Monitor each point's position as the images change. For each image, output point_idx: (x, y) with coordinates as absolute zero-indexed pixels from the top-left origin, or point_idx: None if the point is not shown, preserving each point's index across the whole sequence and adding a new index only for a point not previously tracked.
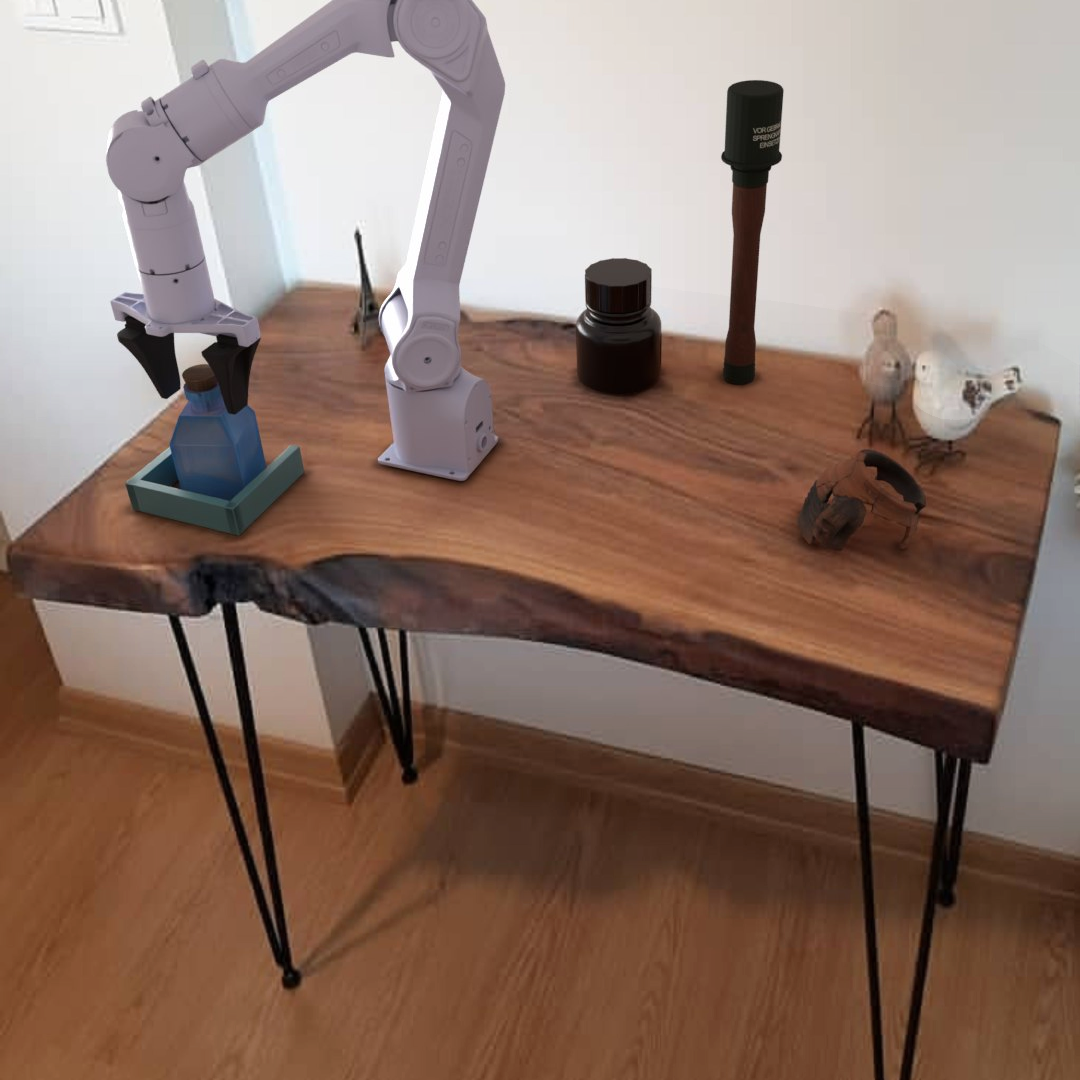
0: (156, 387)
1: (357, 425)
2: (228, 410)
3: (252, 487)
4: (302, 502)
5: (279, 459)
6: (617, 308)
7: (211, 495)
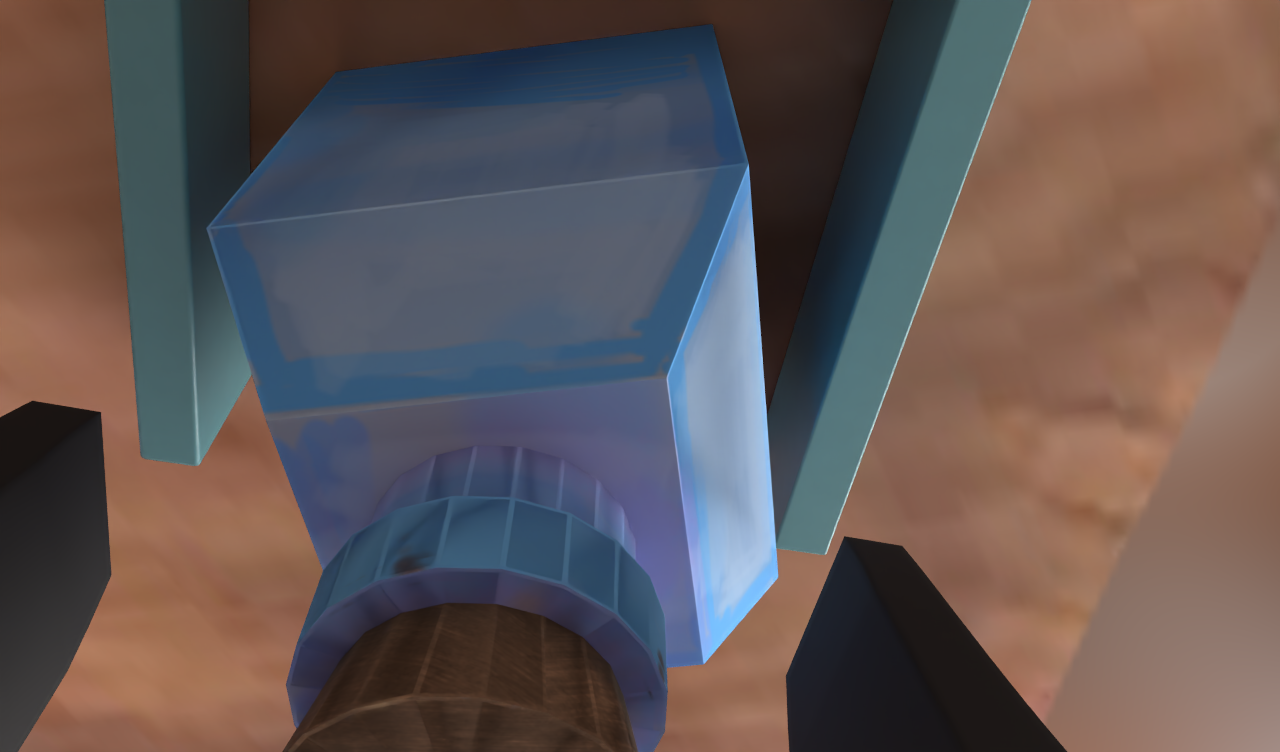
0: (942, 617)
1: (199, 693)
2: (59, 424)
3: (125, 12)
4: (39, 124)
5: (165, 330)
6: None
7: (535, 57)
